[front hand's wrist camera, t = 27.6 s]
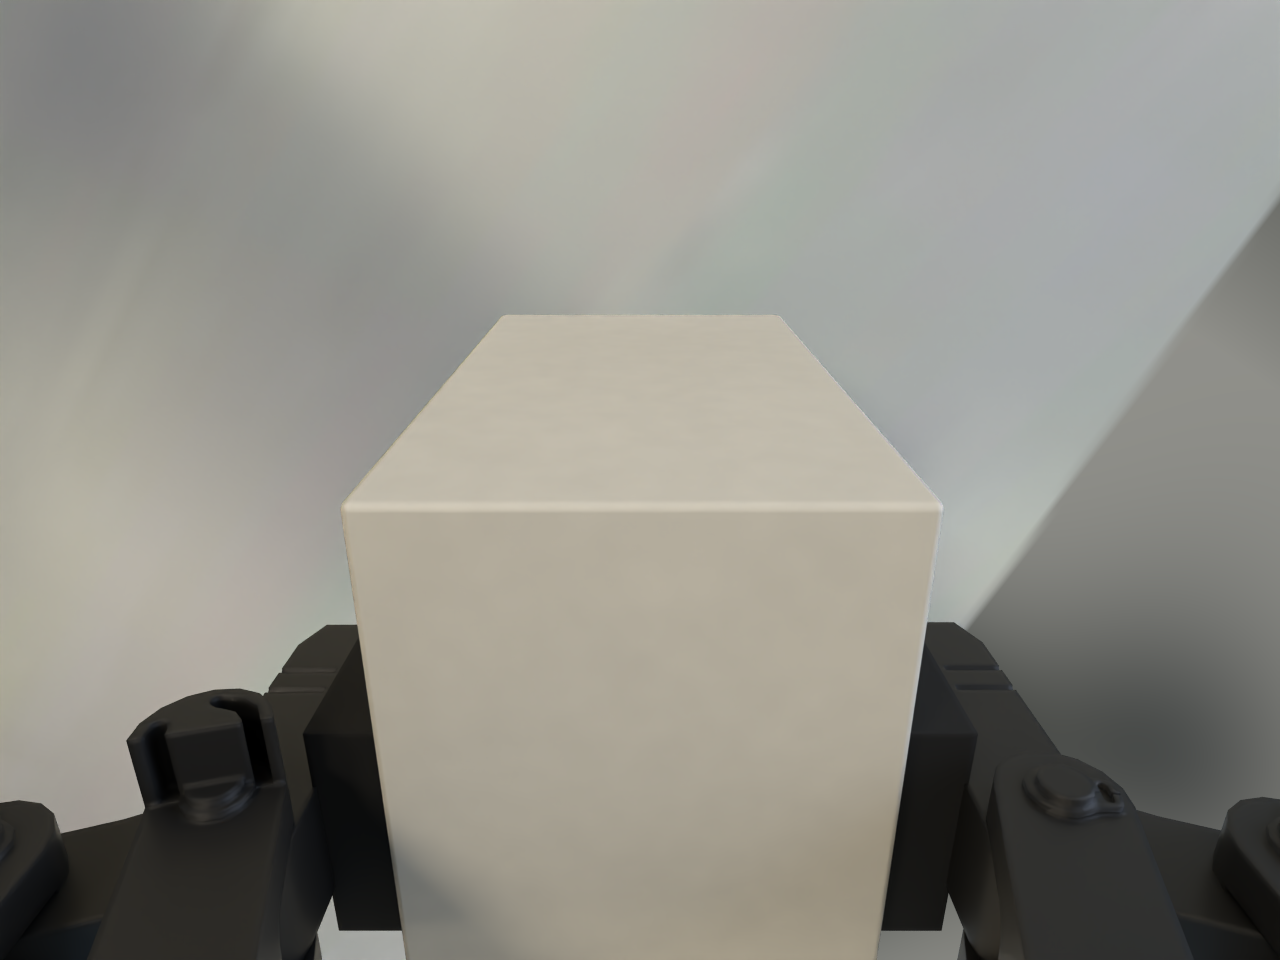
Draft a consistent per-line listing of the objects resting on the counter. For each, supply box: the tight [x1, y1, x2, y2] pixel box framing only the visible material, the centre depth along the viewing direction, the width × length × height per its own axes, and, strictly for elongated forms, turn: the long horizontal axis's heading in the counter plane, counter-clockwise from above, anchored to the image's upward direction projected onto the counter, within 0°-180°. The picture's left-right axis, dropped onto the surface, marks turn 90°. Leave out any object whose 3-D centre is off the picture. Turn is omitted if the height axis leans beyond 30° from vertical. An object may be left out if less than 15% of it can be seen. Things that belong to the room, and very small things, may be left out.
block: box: [340, 315, 944, 960], centre depth 13 cm, size 5×8×9 cm
